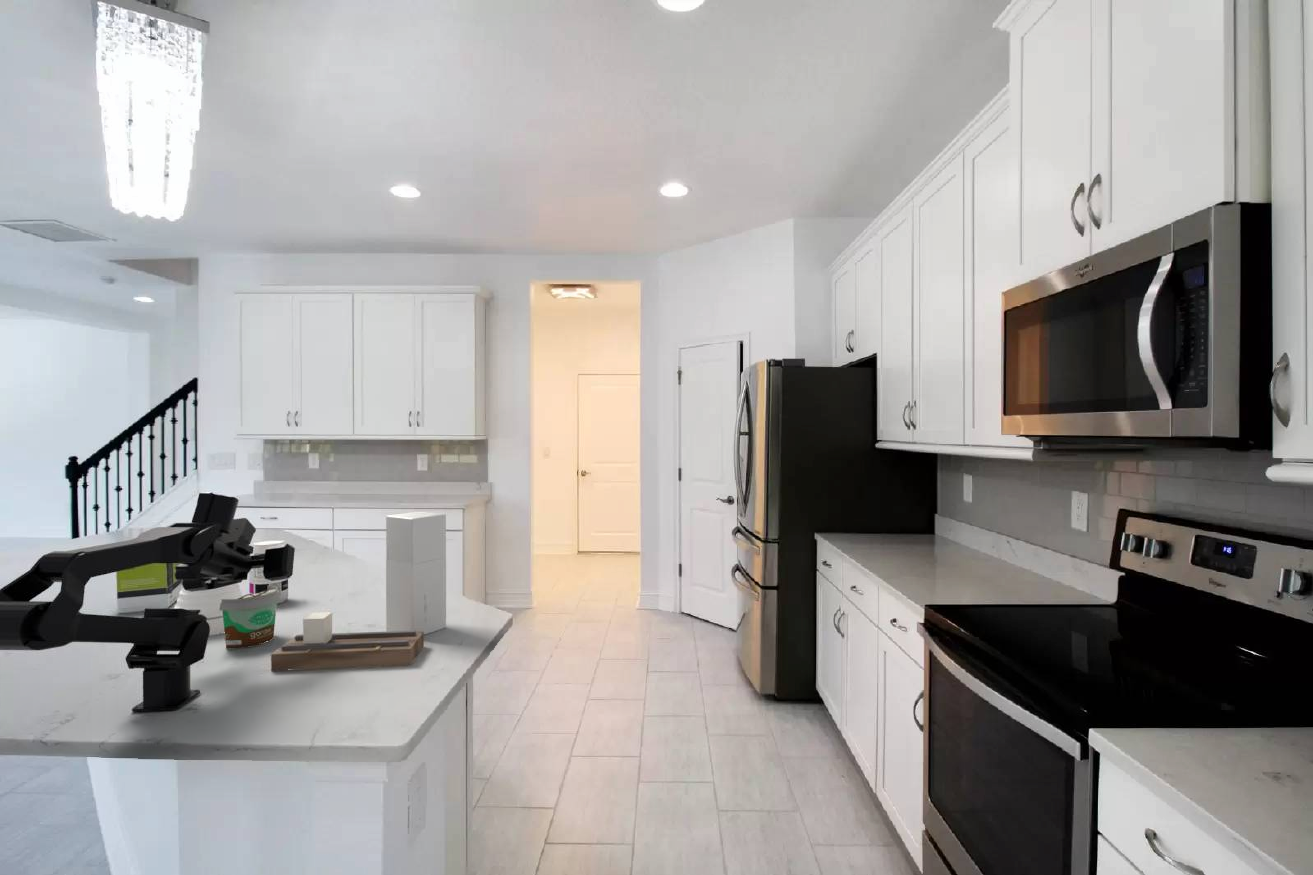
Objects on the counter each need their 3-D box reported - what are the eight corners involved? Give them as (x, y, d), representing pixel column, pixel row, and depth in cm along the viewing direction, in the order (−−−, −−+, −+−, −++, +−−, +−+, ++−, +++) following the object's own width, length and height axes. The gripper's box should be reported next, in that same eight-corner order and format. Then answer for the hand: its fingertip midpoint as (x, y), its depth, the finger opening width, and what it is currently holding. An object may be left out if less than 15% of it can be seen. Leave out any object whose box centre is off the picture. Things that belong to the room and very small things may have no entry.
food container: (246, 653, 122) (245, 601, 121) (219, 651, 123) (219, 600, 123) (294, 633, 134) (294, 586, 134) (270, 631, 135) (269, 584, 135)
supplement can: (241, 605, 155) (241, 544, 154) (270, 596, 163) (270, 538, 162) (267, 608, 152) (266, 546, 152) (295, 599, 160) (295, 540, 160)
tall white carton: (412, 639, 130) (412, 518, 130) (385, 632, 135) (385, 515, 134) (446, 627, 138) (446, 513, 137) (420, 621, 142) (419, 511, 142)
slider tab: (323, 645, 117) (323, 618, 117) (303, 646, 116) (303, 619, 116) (332, 638, 121) (332, 612, 120) (312, 638, 120) (312, 612, 120)
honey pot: (234, 615, 146) (233, 538, 146) (254, 626, 138) (253, 545, 138) (165, 628, 136) (165, 546, 136) (183, 641, 128) (182, 553, 128)
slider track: (410, 665, 116) (410, 644, 116) (271, 671, 113) (271, 650, 113) (423, 646, 126) (423, 627, 126) (295, 651, 123) (295, 632, 123)
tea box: (136, 598, 161) (136, 540, 160) (184, 594, 165) (184, 538, 165) (115, 614, 147) (115, 551, 147) (168, 609, 151) (168, 548, 151)
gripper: (273, 507, 114) (316, 530, 128) (166, 521, 113) (222, 543, 127) (266, 568, 109) (312, 585, 123) (155, 583, 108) (214, 598, 122)
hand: (265, 576), depth 124 cm, fingers open, 9 cm apart
